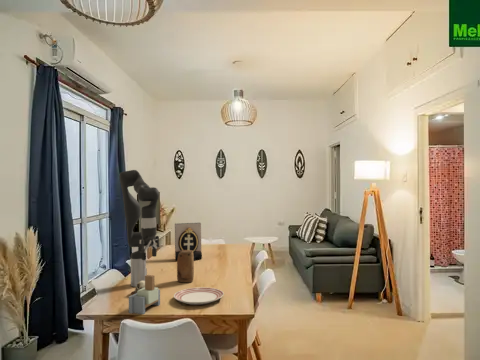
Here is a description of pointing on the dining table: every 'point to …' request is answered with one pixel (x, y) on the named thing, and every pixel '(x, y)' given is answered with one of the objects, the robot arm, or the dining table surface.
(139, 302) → the board
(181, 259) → the block
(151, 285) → the green and brown blocks
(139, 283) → the skull
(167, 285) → the dining table surface
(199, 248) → the decorative plaque
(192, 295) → the dinner plate
